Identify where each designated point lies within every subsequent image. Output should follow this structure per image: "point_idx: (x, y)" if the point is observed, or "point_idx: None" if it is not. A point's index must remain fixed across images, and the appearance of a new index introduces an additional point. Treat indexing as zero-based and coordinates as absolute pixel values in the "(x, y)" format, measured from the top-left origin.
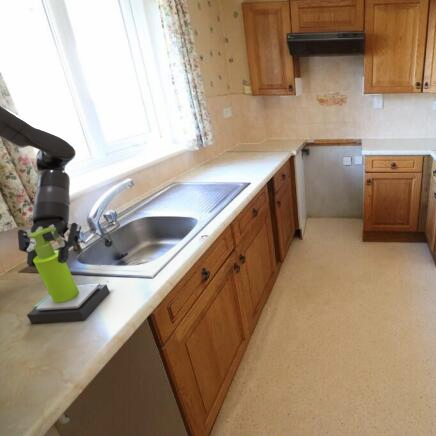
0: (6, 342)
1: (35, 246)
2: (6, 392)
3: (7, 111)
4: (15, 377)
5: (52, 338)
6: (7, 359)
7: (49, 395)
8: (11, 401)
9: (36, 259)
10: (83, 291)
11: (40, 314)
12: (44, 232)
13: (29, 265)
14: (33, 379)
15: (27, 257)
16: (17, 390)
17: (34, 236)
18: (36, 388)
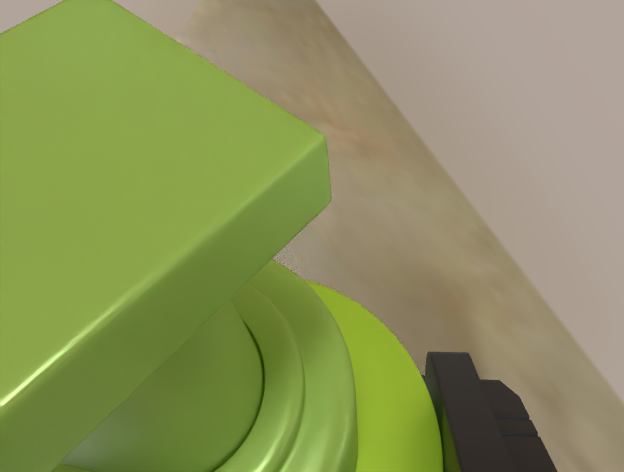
0: (531, 288)
1: (288, 309)
2: (352, 52)
3: None
4: (359, 96)
5: (317, 253)
6: (447, 182)
7: (220, 21)
8: (319, 25)
9: (356, 346)
10: None
11: (424, 376)
12: None
13: (460, 354)
14: (293, 77)
15: (546, 451)
16: (322, 52)
17: (55, 46)
18: (267, 47)
